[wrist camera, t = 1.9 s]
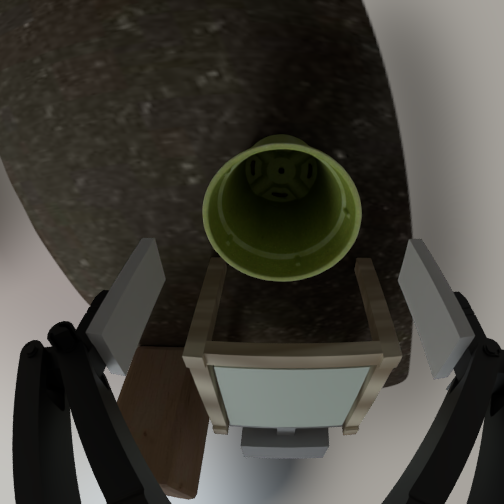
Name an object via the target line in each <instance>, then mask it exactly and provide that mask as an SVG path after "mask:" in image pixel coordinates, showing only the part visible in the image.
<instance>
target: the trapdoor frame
mask: <svg viewBox="0 0 504 504" xmlns="http://www.w3.org/2000/svg"><path fill="white" fill-rule="evenodd" d="M354 270H355V274H356V277H357V281H358V285H359V288H360V292H361V296H362V300H363V303H364V307H365V311H366V315H367V319H368V323H369V328H370V332H371V336H372V341H367V342H344V343H244V342H221V341H212V336H213V331H214V327H215V322H216V317H217V313H218V308H219V303H220V299H221V294H222V290H223V285H224V281H225V276H226V272H227V265H226V261H225V260H224V259H223V258H222V257H211V258H210V261H209V265H208V268H207V271H206V275H205V278H204V281H203V285H202V288H201V291H200V295H199V298H198V302H197V305H196V309H195V312H194V316H193V319H192V323H191V326H190V330H189V333H188V337H187V340H186V344H185V348H184V351H183V355H182V357H183V360H184V362H185V365H186V367H188V368H190V371H191V374H192V376H193V379H194V381H195V384H196V386H197V389H198V391H199V394H200V396H201V399H202V401H203V404H204V406H205V408H206V411H207V413H208V415H209V418H210V420H211V422H212V424H213V430H214V433H215V434H225V435H228V428H229V418H228V415H227V411H226V408H225V405H224V401H223V398H222V394H221V391H220V387H218V383H217V380H216V376H215V372H214V369H213V365H216V366H233V367H257V368H328V367H351V366H368V365H370V369H369V371H368V373H367V375H366V378H365V380H364V382H363V384H362V386H361V388H360V391H359V393H358V395H357V397H356V399H355V401H354V403H353V405H352V407H351V409H350V411H349V413H348V415H347V417H346V419H345V420H344V422H343V426H342V429H343V435H352V434H356V433H357V431H358V429H359V427H358V426H359V425H360V423H361V422H362V420H363V419H364V417H365V415H366V414H367V412H368V411H369V409H370V407H371V406H372V404H373V402H374V401H375V399H376V397H377V396H378V394H379V392H380V390H381V389H382V387H383V385H384V383H385V382H386V380H387V378H388V376H389V374H390V372H391V371H392V369H393V368H395V367H397V365H398V363H399V362H400V360H401V358H402V353H401V349H400V346H399V342H398V339H397V335H396V332H395V329H394V325H393V322H392V319H391V316H390V313H389V309H388V306H387V303H386V300H385V297H384V294H383V291H382V288H381V285H380V282H379V280H378V277H377V274H376V271H375V268H374V266H373V263H372V260H371V258H356V264H355V269H354Z"/></svg>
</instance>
